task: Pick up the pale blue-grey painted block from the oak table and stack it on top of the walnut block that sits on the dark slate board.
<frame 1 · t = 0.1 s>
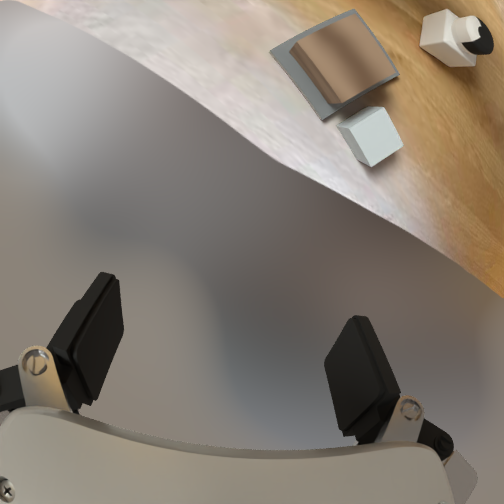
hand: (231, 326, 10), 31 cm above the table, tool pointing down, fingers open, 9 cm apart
medicine bottle: (436, 41, 26), on the table
walnut block: (334, 62, 29), point 1 cm above the table, touching slate board
blue-grey block: (362, 132, 35), on the table
slate board: (337, 60, 30), on the table
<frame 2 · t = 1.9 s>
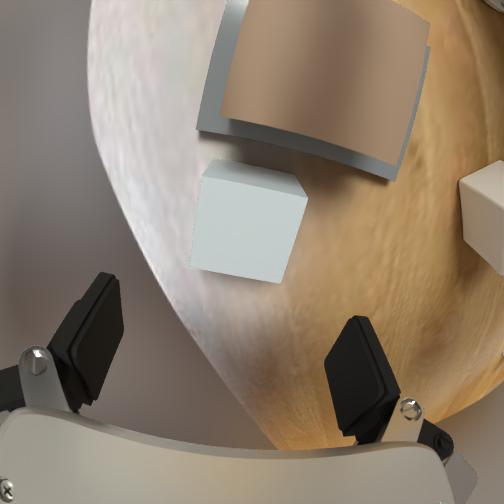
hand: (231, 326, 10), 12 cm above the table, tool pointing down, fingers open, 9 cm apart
medicine bottle: (481, 198, 20), on the table
walnut block: (311, 67, 15), point 1 cm above the table, touching slate board
blue-grey block: (246, 202, 21), on the table
slate board: (321, 74, 16), on the table
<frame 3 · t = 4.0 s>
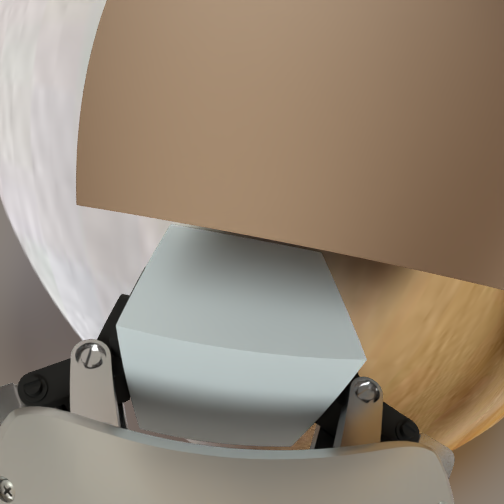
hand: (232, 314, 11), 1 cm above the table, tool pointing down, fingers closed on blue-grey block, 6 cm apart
walnut block: (368, 42, 6), point 1 cm above the table, touching slate board
blue-grey block: (233, 298, 12), on the table, touching gripper
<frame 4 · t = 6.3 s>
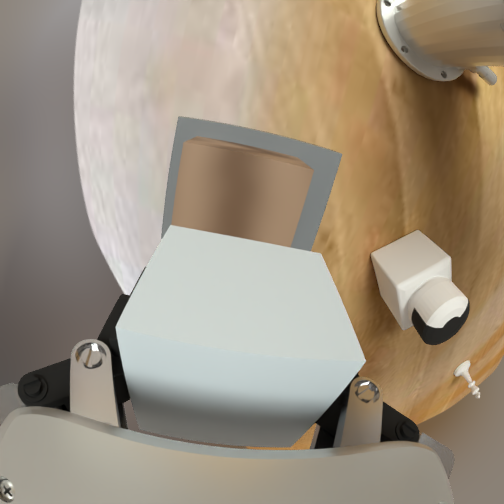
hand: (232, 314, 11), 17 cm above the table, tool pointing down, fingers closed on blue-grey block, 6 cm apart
medicine bottle: (398, 262, 31), on the table
walnut block: (236, 193, 25), point 1 cm above the table, touching slate board
blue-grey block: (233, 299, 12), point 16 cm above the table, touching gripper
chess piece: (461, 367, 46), on the table
slate board: (247, 191, 26), on the table
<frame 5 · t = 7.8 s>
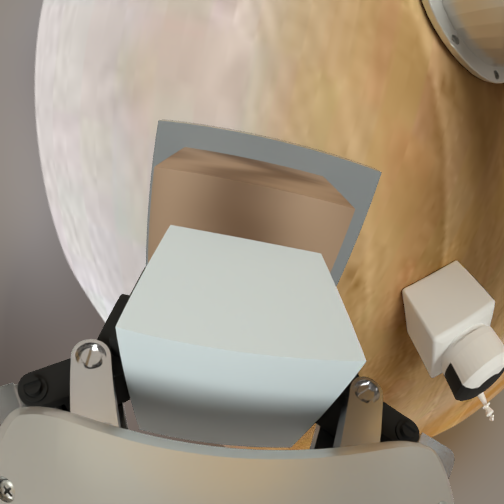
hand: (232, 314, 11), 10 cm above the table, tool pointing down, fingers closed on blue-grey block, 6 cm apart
medicine bottle: (430, 296, 24), on the table
walnut block: (240, 224, 19), point 1 cm above the table, touching slate board
blue-grey block: (233, 299, 12), point 9 cm above the table, touching gripper
chess piece: (476, 387, 39), on the table
slate board: (254, 220, 20), on the table
when the fingers open (9 cm above the table, at t = 8.9 s): blue-grey block stays where it is, resting on walnut block.
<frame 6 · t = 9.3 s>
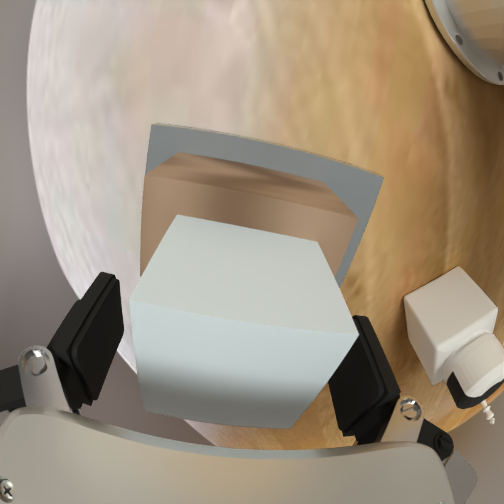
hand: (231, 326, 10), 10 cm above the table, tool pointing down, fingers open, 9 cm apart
medicine bottle: (432, 302, 24), on the table
walnut block: (237, 232, 18), point 1 cm above the table, touching blue-grey block, slate board
blue-grey block: (235, 286, 13), point 7 cm above the table, touching walnut block
chess piece: (477, 390, 38), on the table
slate board: (252, 227, 19), on the table
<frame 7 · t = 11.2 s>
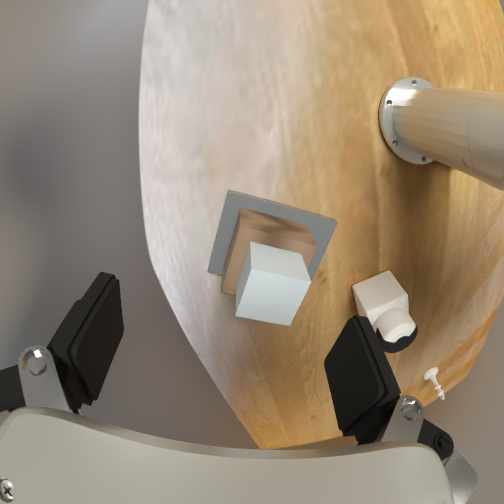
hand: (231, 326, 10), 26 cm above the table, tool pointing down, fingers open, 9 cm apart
medicine bottle: (373, 291, 44), on the table
walnut block: (264, 246, 37), point 1 cm above the table, touching blue-grey block, slate board
blue-grey block: (268, 270, 32), point 7 cm above the table, touching walnut block
chess piece: (430, 372, 59), on the table
slate board: (270, 243, 38), on the table
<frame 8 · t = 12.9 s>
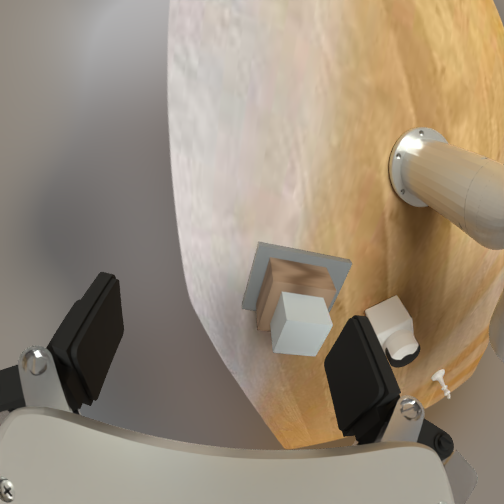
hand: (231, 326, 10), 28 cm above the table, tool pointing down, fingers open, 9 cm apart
medicine bottle: (383, 312, 49), on the table
walnut block: (290, 286, 43), point 1 cm above the table, touching blue-grey block, slate board
blue-grey block: (296, 311, 38), point 7 cm above the table, touching walnut block
chess piece: (437, 373, 63), on the table
slate board: (295, 283, 44), on the table
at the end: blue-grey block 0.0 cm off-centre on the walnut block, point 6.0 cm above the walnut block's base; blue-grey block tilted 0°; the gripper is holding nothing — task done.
